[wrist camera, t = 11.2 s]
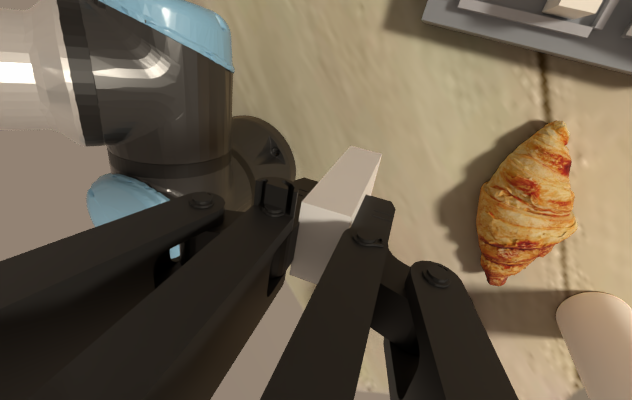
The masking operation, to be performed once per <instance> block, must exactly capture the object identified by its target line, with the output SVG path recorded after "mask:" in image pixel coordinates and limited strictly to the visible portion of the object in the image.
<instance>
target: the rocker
mask: <svg viewBox="0 0 632 400" xmlns="http://www.w3.org/2000/svg"><path fill="white" fill-rule="evenodd" d="M621 37H623V38H628V39H632V19H631V21H630V23H629V24H628V26H627V27H626V29H625V31H624V32H623V34H622V35H621Z"/></svg>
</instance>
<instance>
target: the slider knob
mask: <svg viewBox="0 0 632 400" xmlns="http://www.w3.org/2000/svg"><path fill="white" fill-rule="evenodd" d="M602 1H603V0H547V2H546V4H545V6H544V8H543V10H542V12H541V13H545V14H549V15H554V16H558V17H563V18H567V19H571V20H573V19H577V18H581V17H585V16H588V15H592V14H596V12H597V10H598V8H599V7H600V5H601V3H602Z"/></svg>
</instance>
